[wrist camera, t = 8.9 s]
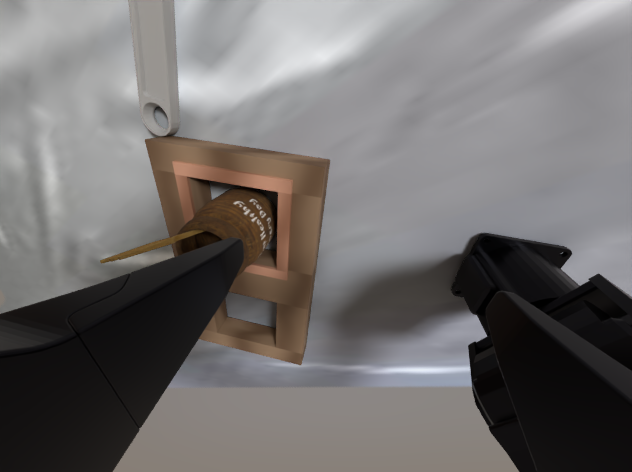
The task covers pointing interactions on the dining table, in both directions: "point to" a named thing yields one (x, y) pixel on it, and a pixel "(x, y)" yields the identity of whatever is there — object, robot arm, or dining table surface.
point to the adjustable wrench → (156, 61)
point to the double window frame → (272, 266)
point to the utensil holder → (223, 226)
